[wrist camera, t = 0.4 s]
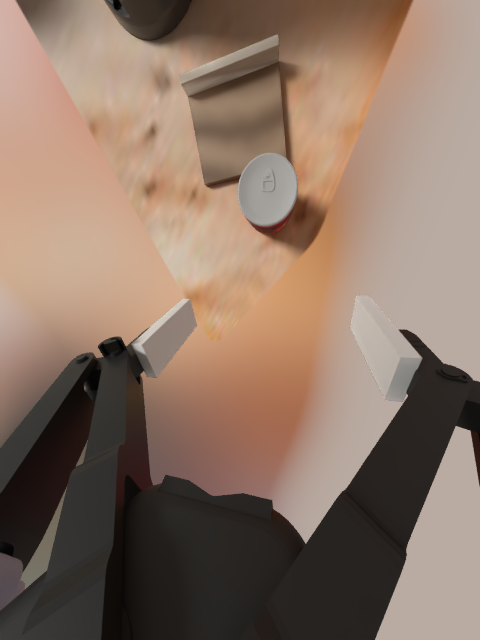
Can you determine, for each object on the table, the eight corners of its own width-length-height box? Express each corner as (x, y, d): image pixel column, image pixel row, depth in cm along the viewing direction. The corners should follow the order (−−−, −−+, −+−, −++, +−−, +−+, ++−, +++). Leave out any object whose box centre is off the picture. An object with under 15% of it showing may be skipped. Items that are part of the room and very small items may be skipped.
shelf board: (189, 92, 31) (178, 72, 28) (277, 58, 28) (277, 31, 25) (207, 186, 35) (199, 179, 31) (286, 165, 32) (287, 154, 28)
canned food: (286, 176, 32) (291, 140, 22) (295, 226, 34) (304, 215, 24) (243, 193, 34) (229, 166, 24) (254, 239, 36) (245, 233, 26)
